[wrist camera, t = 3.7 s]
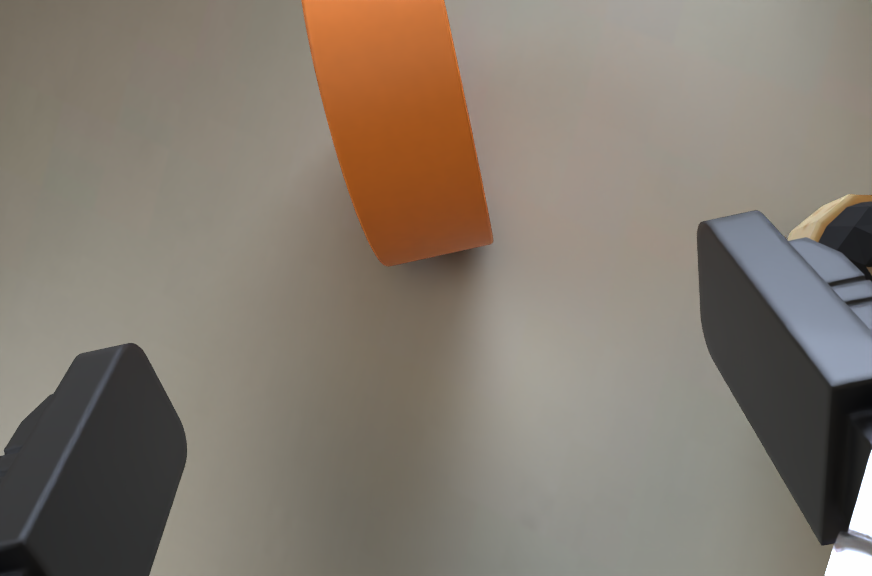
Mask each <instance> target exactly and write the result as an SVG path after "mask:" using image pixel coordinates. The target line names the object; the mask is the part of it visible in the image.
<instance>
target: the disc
mask: <svg viewBox="0 0 872 576" xmlns="http://www.w3.org/2000/svg"><path fill="white" fill-rule="evenodd" d="M302 6H303V13H304V18H305V24H306V29H307V35H308V40H309V45H310V50H311V54H312V59H313V64H314V68H315V73H316V77H317V81H318V86H319V90H320V94H321V98H322V102H323V106H324V110H325V114H326V118H327V121H328V125H329V129H330V132H331V136H332V140H333V143H334V147H335V150H336V153H337V157H338V160H339V163H340V167H341V170H342V173H343V176H344V179H345V182H346V185H347V189H348V192H349V194H350V197H351V200H352V203H353V206H354V208H355V211H356V214H357V216H358V219H359V221H360V224H361V227H362V229H363V231H364V233H365V236H366V238H367V240H368V242H369V244H370V246H371V248H372V250H373V252H374V253H375V255H376V257H377V258H378V260H379V261H380V262H381V263H382V264H383V265H385V266H388V267H389V266H394V265H398V264H403V263H408V262H412V261H417V260H421V259H426V258H430V257H435V256H440V255H444V254H449V253H453V252H458V251H462V250H467V249H472V248H476V247H481V246H485V245H490V244H492V243H493V235H492V229H491V224H490V219H489V213H488V208H487V203H486V198H485V193H484V188H483V183H482V178H481V173H480V168H479V163H478V158H477V153H476V149H475V144H474V139H473V134H472V129H471V124H470V120H469V115H468V110H467V105H466V100H465V96H464V91H463V86H462V81H461V77H460V72H459V67H458V62H457V58H456V53H455V48H454V44H453V39H452V34H451V30H450V25H449V20H448V16H447V11H446V7H445V2H444V0H302Z"/></svg>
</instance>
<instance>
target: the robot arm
mask: <svg viewBox="0 0 872 576" xmlns="http://www.w3.org/2000/svg"><path fill="white" fill-rule="evenodd" d="M697 250H698V271H699V292H700V312H701V323H702V329H703V333H704V337H705V341H706V344H707V347H708V350H709V353H710V355H711V357H712V359H713V361H714V363H715V365H716V366H717V368H718V370H719V371H720V373H721V375H722V376H723V378H724V380H725V382H726V383H727V385H728V387H729V388H730V390H731V392H732V394H733V395H734V397H735V399H736V400H737V402H738V404H739V406H740V407H741V409H742V411H743V412H744V414H745V416H746V418H747V419H748V421H749V423H750V424H751V426H752V428H753V429H754V431H755V433H756V435H757V436H758V438H759V440H760V441H761V443H762V445H763V447H764V448H765V450H766V452H767V453H768V455H769V457H770V459H771V460H772V462H773V464H774V465H775V467H776V469H777V470H778V472H779V474H780V476H781V477H782V479H783V481H784V482H785V484H786V486H787V488H788V489H789V491H790V493H791V494H792V496H793V498H794V500H795V501H796V503H797V505H798V506H799V508H800V510H801V511H802V513H803V515H804V517H805V518H806V520H807V522H808V523H809V525H810V527H811V529H812V530H813V532H814V534H815V535H816V537H817V539H818V541H819V542H820V544H821V546H822V545H828V544H833V543H835V545H834V547H833V550H832V553H831V557H830V560H829V563H828V567H827V570H826V573H825V576H872V282H871V281H870V280H866V279H865V275H864V274H863V273H862V272H861V271H860V270H859V269H858V268H857V267H856V266H855V265H854V264H853V263H852V262H851V261H850V260H849V259H848V258H847V257H846V256H845V255H844V254H843V253H841V252H839V251H837V250H835V249H832V248H830V247H828V246H825V245H823V244H821V243H819V242H816V241H814V240H812V239H810V238H807V237H804V238H799V239H795V240H790V241H788V240H787V239H786V238H785V237H784V236H783V235H782V234H781V233H780V232H779V231H778V230H777V229H776V228H775V226H774V225H773V224H772V223H771V222H770V221H769V220H768V219H767V218H766V217H765V216H764V215H763V214H762V213H761V212H760V211H758V210H754V211H750V212H745V213H740V214H736V215H731V216H726V217H722V218H717V219H712V220H708V221H703V222H701V223H700V224H699V226H698V231H697ZM4 452H5V455H3V456H0V576H149V574H150V571H151V568H152V565H153V562H154V559H155V556H156V552H157V549H158V546H159V543H160V540H161V537H162V534H163V531H164V528H165V525H166V522H167V519H168V516H169V513H170V510H171V507H172V504H173V501H174V497H175V494H176V491H177V488H178V485H179V482H180V479H181V476H182V473H183V470H184V467H185V463H186V458H187V443H186V436H185V432H184V428H183V425H182V423H181V421H180V418H179V417H178V415H177V413H176V411H175V409H174V407H173V405H172V403H171V401H170V400H169V398H168V396H167V394H166V392H165V390H164V388H163V386H162V384H161V382H160V381H159V379H158V377H157V375H156V373H155V371H154V369H153V367H152V365H151V364H150V362H149V360H148V358H147V356H146V354H145V353H144V351H143V350H142V349H141V348H140V347H139V346H138V345H136V344H134V343H128V344H123V345H118V346H114V347H109V348H104V349H100V350H95V351H90V352H86V353H82V354H79V355H78V356H77V357H76V358H75V359H74V361H73V362H72V364H71V366H70V367H69V369H68V371H67V372H66V374H65V376H64V377H63V379H62V381H61V382H60V384H59V386H58V387H57V389H56V391H55V392H54V394H52V395H50V396H48V397H47V398H46V399H45V400H44V401H43V402H42V403H41V404H40V405H39V406H38V407H37V408H36V409H35V410H34V411H33V412H32V413H30V414H29V415H28V416H27V417H26V418H25V419H24V420H23V421H22V422H21V424H20V425H19V427H18V428H17V430H16V432H15V433H14V435H13V436H12V438H11V440H10V441H9V443H8V444H7V446H6V448H5V449H4Z"/></svg>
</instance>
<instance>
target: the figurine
mask: <svg viewBox="0 0 872 576" xmlns="http://www.w3.org/2000/svg"><path fill="white" fill-rule="evenodd" d="M804 237H807V238H810V239H812V240H814V241H816V242H819V243H821V244H823V245H825V246H828V247H830V248H832V249H835V250H837V251H839V252H841V253H843V254H844V255H845V256H846V257H847V258H848V259H849V260H850V261H851V262H852V263H853V264H854V265H855V266H856V267H857V268H858V269H859V270H860V271H861V272H862V273H863V274H864V275H865V279H866V280H870V281H871V282H872V195H854V194H849V195H846V196H844V197H842V198H840V199H837V200H835V201H833V202H830V203H828V204H826V205H824V206H821V207H820V208H819V209H818V210H817V211H815V212H814V213H813V214H812V215H810V216H809V217H808V218H807V219H805V220H804V221H803V222H802V223H801V224H799V225H798V226H797V227H796V228H794V229H793V230H792V231H791V232H790V234H789V237H788V239H787V240H788V241H790V240H795V239H799V238H804Z"/></svg>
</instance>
